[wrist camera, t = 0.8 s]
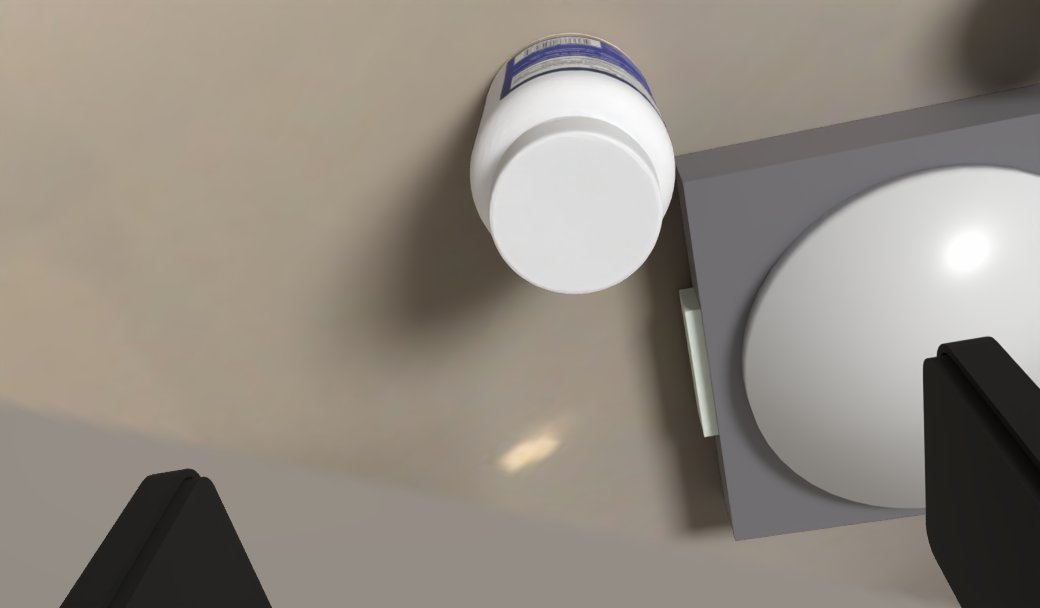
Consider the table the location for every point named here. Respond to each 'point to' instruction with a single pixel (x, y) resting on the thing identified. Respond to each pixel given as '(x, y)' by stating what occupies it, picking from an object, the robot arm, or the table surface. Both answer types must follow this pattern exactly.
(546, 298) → the table surface
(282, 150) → the table surface
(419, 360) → the table surface
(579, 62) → the pill bottle
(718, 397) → the scale
